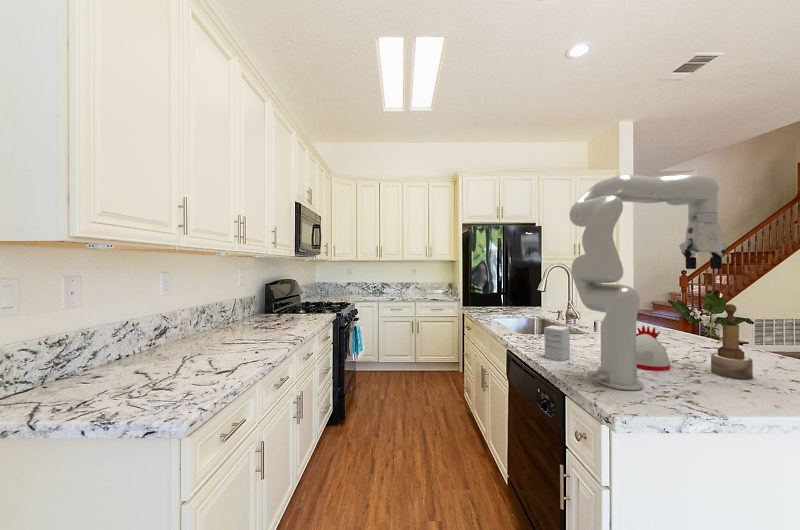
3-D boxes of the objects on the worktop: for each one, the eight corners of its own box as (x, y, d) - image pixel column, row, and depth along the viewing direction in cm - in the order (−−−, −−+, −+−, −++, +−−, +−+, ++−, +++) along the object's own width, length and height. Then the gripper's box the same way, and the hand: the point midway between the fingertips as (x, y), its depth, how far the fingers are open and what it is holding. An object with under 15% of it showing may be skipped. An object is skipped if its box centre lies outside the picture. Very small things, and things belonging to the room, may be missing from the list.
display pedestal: (735, 380, 106) (734, 361, 106) (703, 370, 116) (703, 353, 116) (761, 378, 108) (761, 360, 108) (727, 369, 118) (727, 352, 118)
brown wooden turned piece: (746, 360, 107) (746, 305, 107) (719, 357, 111) (718, 304, 111) (742, 356, 113) (741, 304, 113) (716, 353, 117) (715, 302, 117)
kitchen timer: (666, 374, 114) (665, 330, 114) (619, 365, 124) (619, 325, 124) (672, 365, 123) (672, 325, 123) (629, 358, 133) (628, 321, 133)
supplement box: (552, 354, 139) (551, 324, 140) (570, 358, 134) (570, 327, 134) (544, 357, 135) (543, 327, 135) (562, 361, 129) (562, 329, 129)
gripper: (691, 217, 108) (692, 269, 108) (737, 217, 110) (737, 268, 110) (670, 220, 116) (670, 269, 116) (713, 221, 118) (714, 268, 118)
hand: (703, 268), depth 113 cm, fingers open, 9 cm apart
